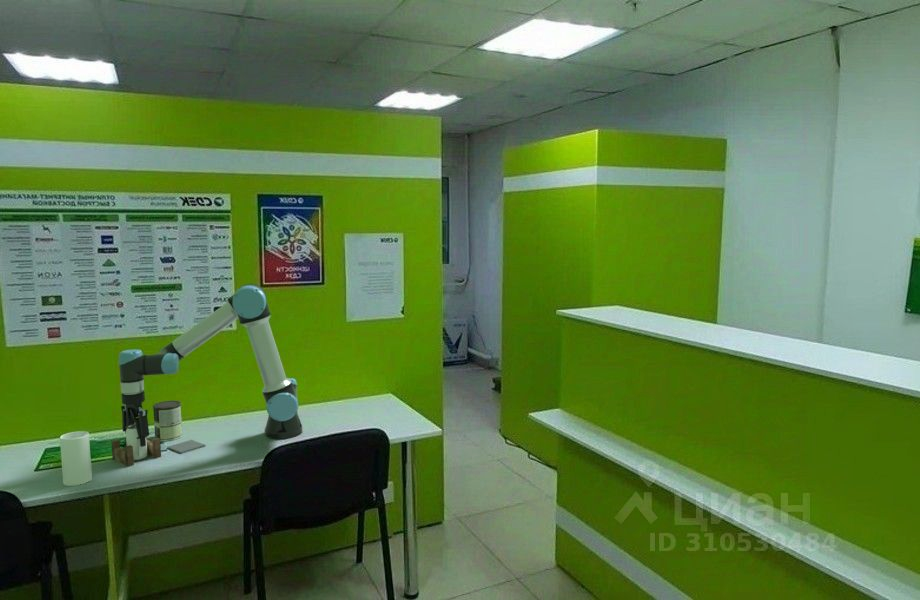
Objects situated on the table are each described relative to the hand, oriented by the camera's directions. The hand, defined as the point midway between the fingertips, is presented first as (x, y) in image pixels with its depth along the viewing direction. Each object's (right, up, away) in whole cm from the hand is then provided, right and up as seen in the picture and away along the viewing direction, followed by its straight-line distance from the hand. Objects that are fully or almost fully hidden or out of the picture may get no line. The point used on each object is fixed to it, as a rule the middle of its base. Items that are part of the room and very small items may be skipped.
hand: (137, 452), depth 224 cm
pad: (+13, -1, +11) cm, 17 cm away
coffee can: (+1, 0, +23) cm, 23 cm away
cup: (-9, -5, -20) cm, 23 cm away
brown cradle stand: (0, -2, 0) cm, 2 cm away
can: (0, -2, 0) cm, 2 cm away
